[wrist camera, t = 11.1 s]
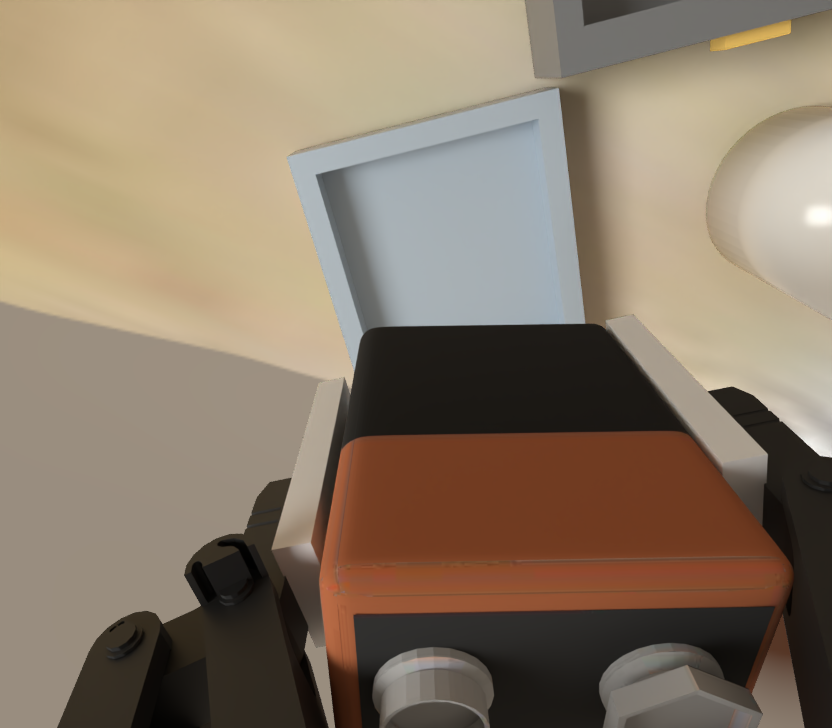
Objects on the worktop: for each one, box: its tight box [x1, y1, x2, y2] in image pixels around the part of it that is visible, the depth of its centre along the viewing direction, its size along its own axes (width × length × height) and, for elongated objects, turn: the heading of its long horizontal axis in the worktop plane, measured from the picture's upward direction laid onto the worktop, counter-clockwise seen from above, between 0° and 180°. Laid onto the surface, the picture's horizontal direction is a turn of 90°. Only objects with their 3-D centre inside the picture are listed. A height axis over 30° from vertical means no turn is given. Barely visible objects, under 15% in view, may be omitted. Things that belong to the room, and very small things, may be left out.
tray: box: [287, 87, 585, 372], centre depth 29 cm, size 13×12×2 cm
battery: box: [319, 324, 794, 728], centre depth 12 cm, size 4×7×10 cm, turn 90°
